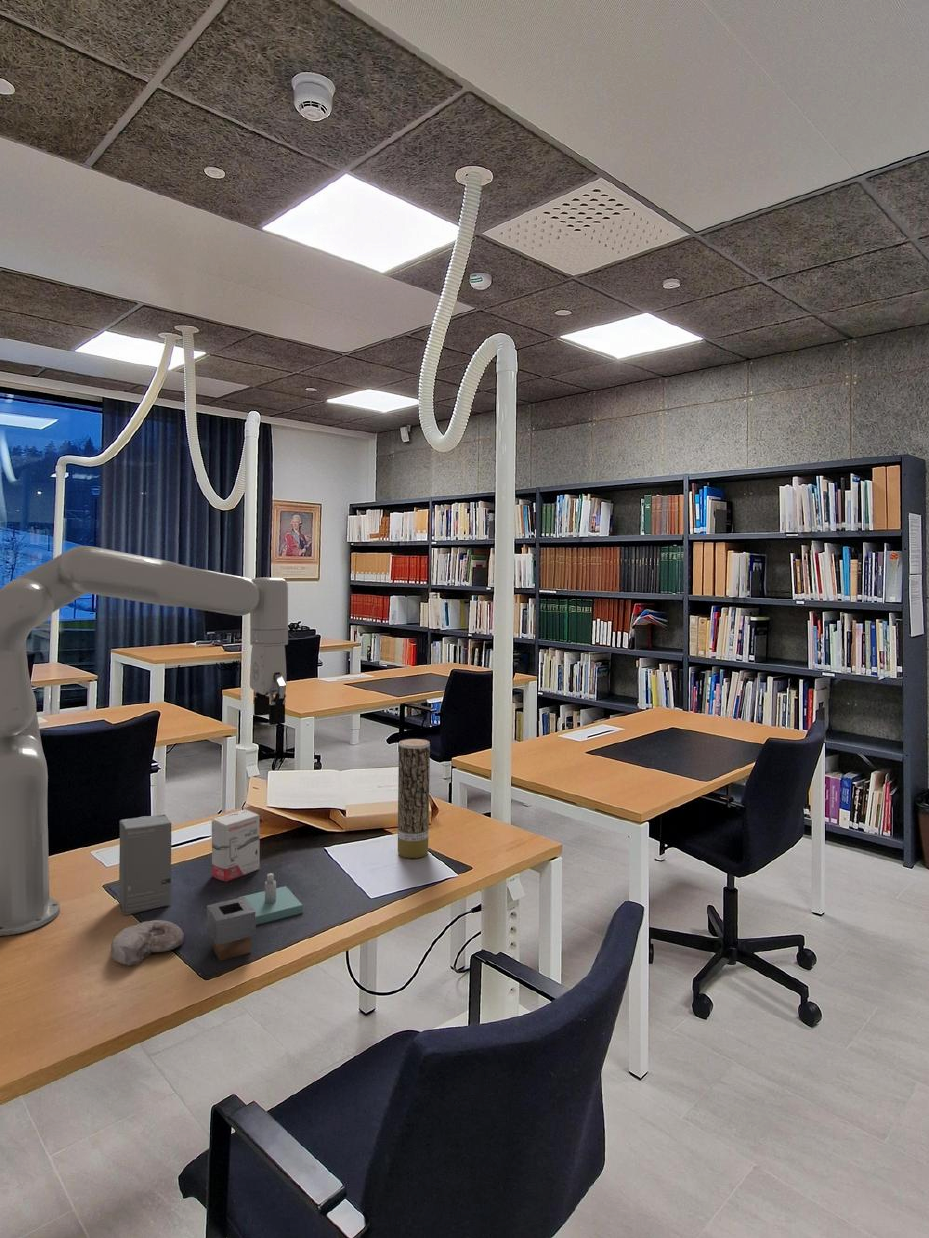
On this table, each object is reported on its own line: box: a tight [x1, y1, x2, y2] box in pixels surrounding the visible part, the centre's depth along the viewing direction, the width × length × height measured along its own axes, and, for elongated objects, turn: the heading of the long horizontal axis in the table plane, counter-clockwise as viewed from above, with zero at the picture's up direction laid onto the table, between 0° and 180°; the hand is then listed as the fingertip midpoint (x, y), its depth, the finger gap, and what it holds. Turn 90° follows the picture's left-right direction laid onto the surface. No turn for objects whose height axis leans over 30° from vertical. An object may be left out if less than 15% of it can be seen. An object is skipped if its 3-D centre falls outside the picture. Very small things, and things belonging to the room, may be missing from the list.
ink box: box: [211, 809, 261, 883], centre depth 148 cm, size 9×5×12 cm, turn 143°
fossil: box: [110, 919, 185, 966], centre depth 118 cm, size 12×4×10 cm
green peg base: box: [238, 872, 304, 926], centre depth 133 cm, size 9×9×6 cm
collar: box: [206, 896, 257, 945], centre depth 118 cm, size 6×6×4 cm
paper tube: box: [397, 738, 431, 859], centre depth 159 cm, size 7×7×25 cm
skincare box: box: [118, 814, 172, 916], centre depth 134 cm, size 8×7×16 cm
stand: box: [211, 936, 252, 962], centre depth 118 cm, size 5×5×4 cm
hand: (269, 719), depth 150 cm, fingers open, 9 cm apart
